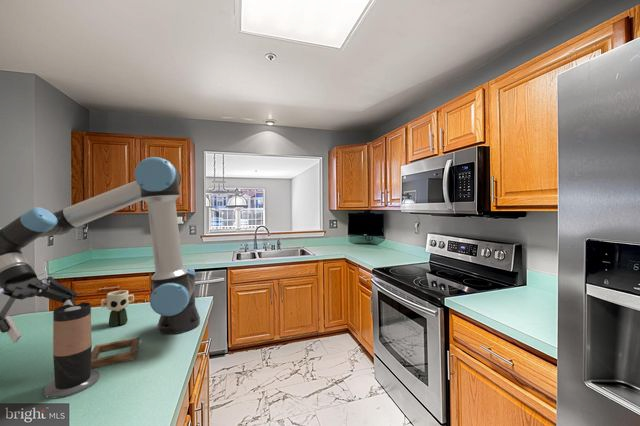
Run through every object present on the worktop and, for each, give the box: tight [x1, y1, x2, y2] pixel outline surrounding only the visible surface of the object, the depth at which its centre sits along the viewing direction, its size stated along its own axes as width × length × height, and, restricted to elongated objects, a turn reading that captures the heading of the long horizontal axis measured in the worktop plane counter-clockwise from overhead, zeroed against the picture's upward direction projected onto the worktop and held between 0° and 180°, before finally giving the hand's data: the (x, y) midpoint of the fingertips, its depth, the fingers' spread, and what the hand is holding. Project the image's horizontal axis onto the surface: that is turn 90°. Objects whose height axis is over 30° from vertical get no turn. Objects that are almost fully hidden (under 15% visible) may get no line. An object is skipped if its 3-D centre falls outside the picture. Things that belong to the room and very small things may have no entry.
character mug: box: [100, 289, 135, 327], centre depth 113 cm, size 11×7×13 cm, turn 130°
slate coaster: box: [44, 368, 101, 398], centre depth 74 cm, size 11×11×1 cm
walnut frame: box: [91, 336, 140, 369], centre depth 89 cm, size 12×12×2 cm
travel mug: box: [52, 301, 93, 389], centre depth 74 cm, size 8×8×20 cm
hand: (49, 328), depth 77 cm, fingers open, 13 cm apart
